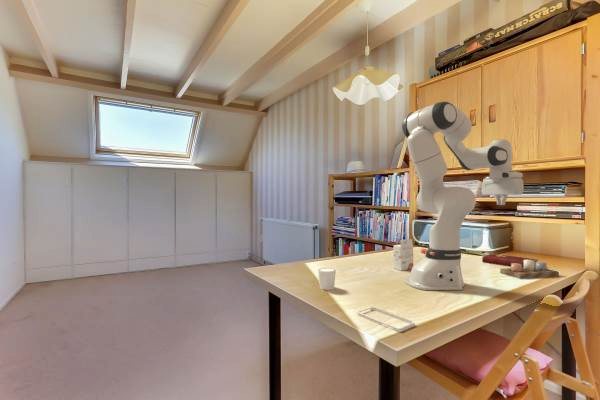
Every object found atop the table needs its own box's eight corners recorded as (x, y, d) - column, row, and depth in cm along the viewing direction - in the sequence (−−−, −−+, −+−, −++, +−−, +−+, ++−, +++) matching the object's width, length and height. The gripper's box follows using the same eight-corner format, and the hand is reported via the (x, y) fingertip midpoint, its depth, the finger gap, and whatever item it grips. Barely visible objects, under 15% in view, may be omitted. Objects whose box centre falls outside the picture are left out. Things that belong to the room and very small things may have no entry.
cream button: (529, 271, 132) (529, 261, 132) (521, 269, 136) (521, 259, 136) (536, 271, 133) (536, 261, 133) (528, 269, 137) (528, 259, 137)
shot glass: (321, 291, 113) (321, 272, 113) (315, 286, 120) (315, 268, 120) (338, 289, 115) (338, 271, 115) (332, 284, 122) (331, 267, 122)
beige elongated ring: (415, 327, 82) (372, 310, 94) (415, 322, 82) (372, 306, 94) (398, 334, 78) (356, 316, 90) (398, 328, 78) (356, 311, 90)
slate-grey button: (541, 273, 134) (541, 263, 134) (533, 271, 137) (533, 261, 137) (548, 273, 134) (548, 263, 134) (540, 271, 138) (540, 261, 138)
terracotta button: (516, 275, 131) (516, 265, 131) (509, 273, 135) (508, 263, 135) (523, 274, 132) (523, 264, 132) (516, 272, 136) (516, 262, 136)
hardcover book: (528, 270, 143) (528, 262, 143) (482, 263, 161) (482, 255, 161) (538, 267, 150) (538, 258, 150) (492, 260, 168) (492, 252, 168)
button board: (519, 278, 128) (519, 273, 128) (500, 272, 138) (500, 268, 138) (558, 276, 131) (558, 271, 131) (537, 270, 141) (537, 266, 141)
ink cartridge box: (405, 266, 152) (405, 237, 152) (413, 268, 148) (413, 238, 148) (393, 268, 148) (393, 238, 148) (400, 270, 144) (400, 240, 144)
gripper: (477, 176, 150) (478, 204, 150) (513, 173, 130) (514, 205, 130) (488, 176, 151) (489, 204, 151) (526, 173, 131) (526, 205, 131)
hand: (501, 204), depth 140 cm, fingers closed
